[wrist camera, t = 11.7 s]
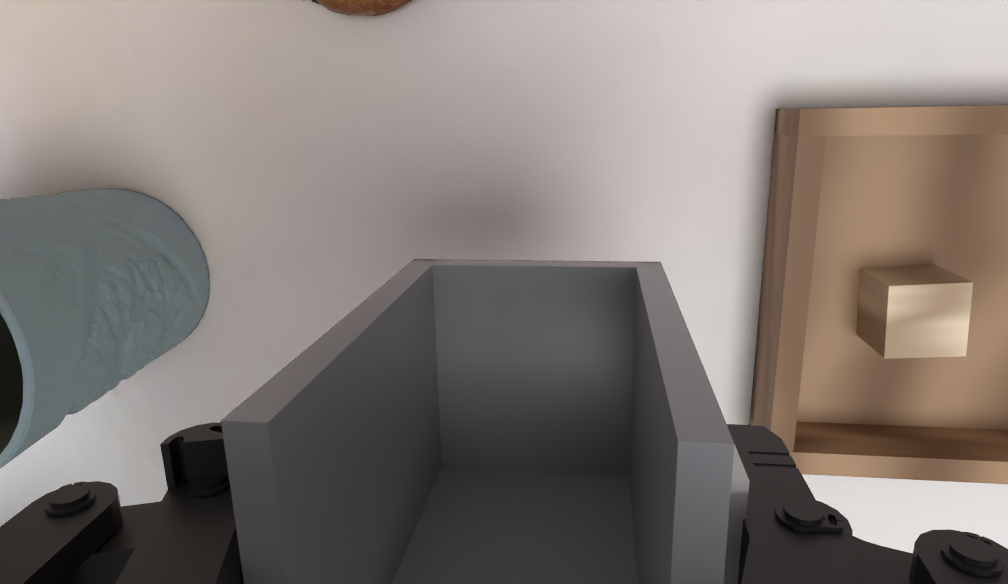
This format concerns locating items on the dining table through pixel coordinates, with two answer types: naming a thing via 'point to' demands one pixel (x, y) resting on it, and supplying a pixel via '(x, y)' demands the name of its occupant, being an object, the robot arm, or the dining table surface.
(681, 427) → the grey open box
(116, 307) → the blue-grey cup
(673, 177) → the dining table surface
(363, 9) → the bread roll
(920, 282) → the cube
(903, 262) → the tray
